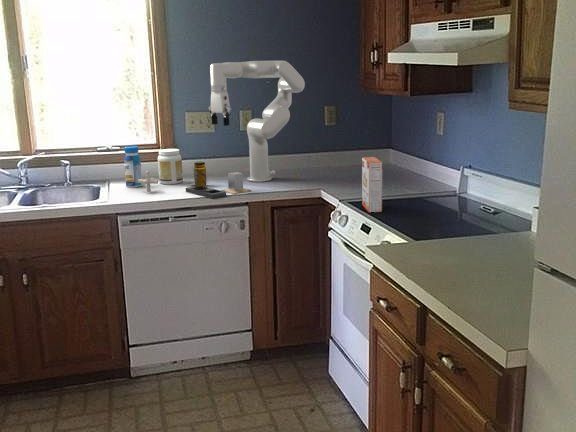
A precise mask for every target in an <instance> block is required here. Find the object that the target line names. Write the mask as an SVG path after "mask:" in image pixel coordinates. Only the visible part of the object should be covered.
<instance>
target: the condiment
mask: <svg viewBox="0 0 576 432" xmlns="http://www.w3.org/2000/svg"><path fill="white" fill-rule="evenodd" d="M205 162H206V161H195V162H194V167H193V178H194V179H193V180H194V181H193V183H194V184H189V185H188V187H194V186H204V187H210V185H208V183H207V169H206V163H205Z"/></svg>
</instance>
